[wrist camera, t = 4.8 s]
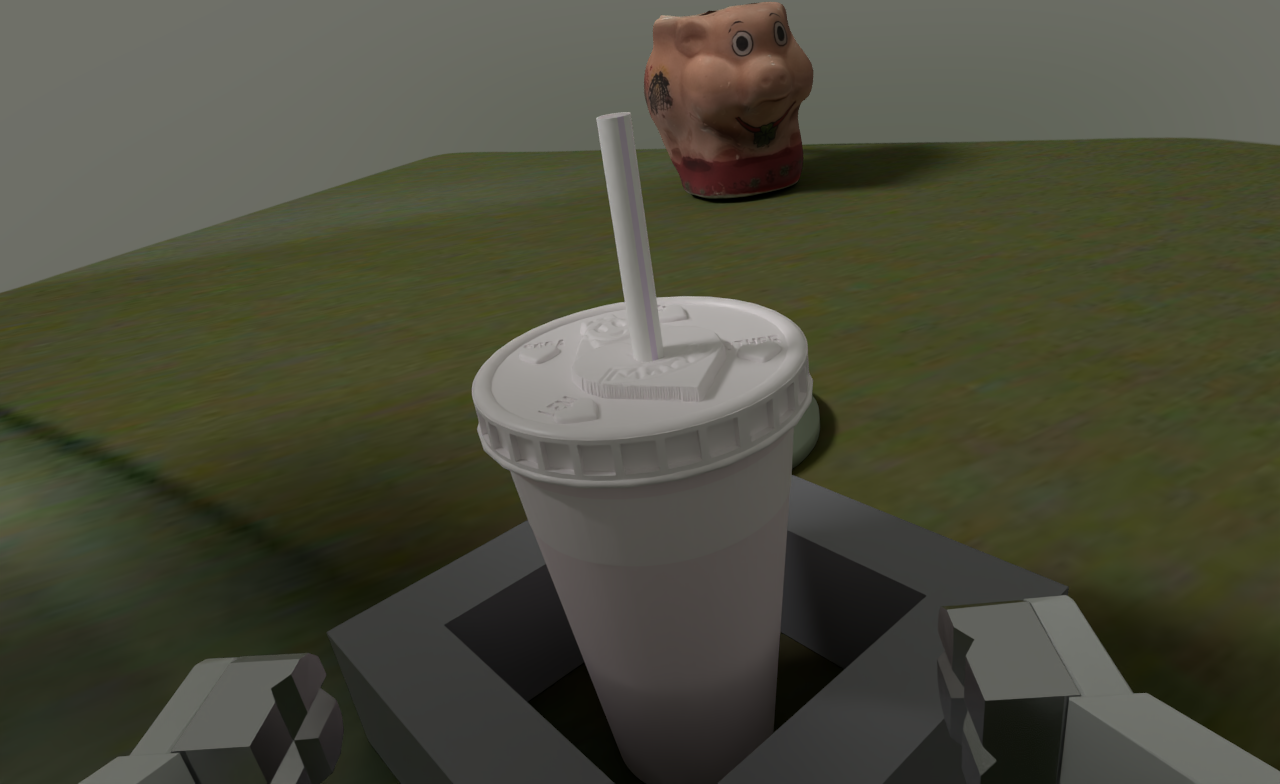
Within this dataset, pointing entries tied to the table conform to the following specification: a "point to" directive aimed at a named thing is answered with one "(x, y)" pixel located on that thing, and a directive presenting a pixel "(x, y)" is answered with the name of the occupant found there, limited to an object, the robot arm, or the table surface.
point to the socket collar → (547, 651)
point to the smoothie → (659, 494)
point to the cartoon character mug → (729, 99)
